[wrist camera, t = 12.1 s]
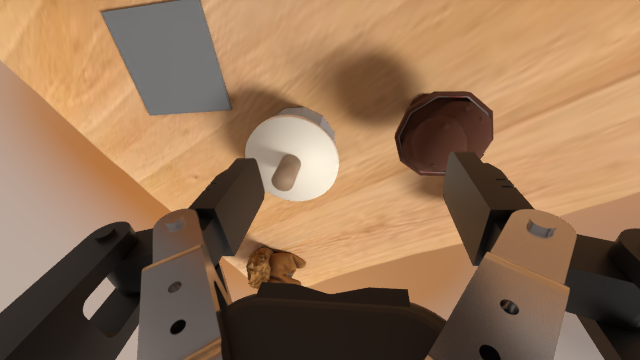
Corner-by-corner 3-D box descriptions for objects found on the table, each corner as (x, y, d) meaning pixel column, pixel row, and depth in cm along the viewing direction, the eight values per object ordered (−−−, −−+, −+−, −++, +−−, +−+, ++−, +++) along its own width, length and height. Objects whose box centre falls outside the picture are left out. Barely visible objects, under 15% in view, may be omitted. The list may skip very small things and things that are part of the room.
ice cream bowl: (397, 153, 43) (412, 211, 30) (382, 86, 37) (392, 125, 25) (467, 135, 40) (516, 193, 27) (462, 61, 34) (519, 90, 22)
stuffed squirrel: (285, 280, 66) (270, 334, 55) (242, 249, 62) (216, 301, 51) (312, 265, 62) (302, 320, 51) (267, 231, 57) (245, 283, 46)
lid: (236, 117, 37) (216, 135, 31) (334, 111, 34) (330, 128, 29) (260, 197, 44) (246, 221, 39) (342, 196, 42) (339, 222, 37)
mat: (104, 12, 37) (100, 12, 36) (199, -3, 34) (197, -3, 34) (152, 114, 45) (149, 115, 44) (232, 108, 42) (230, 109, 42)
